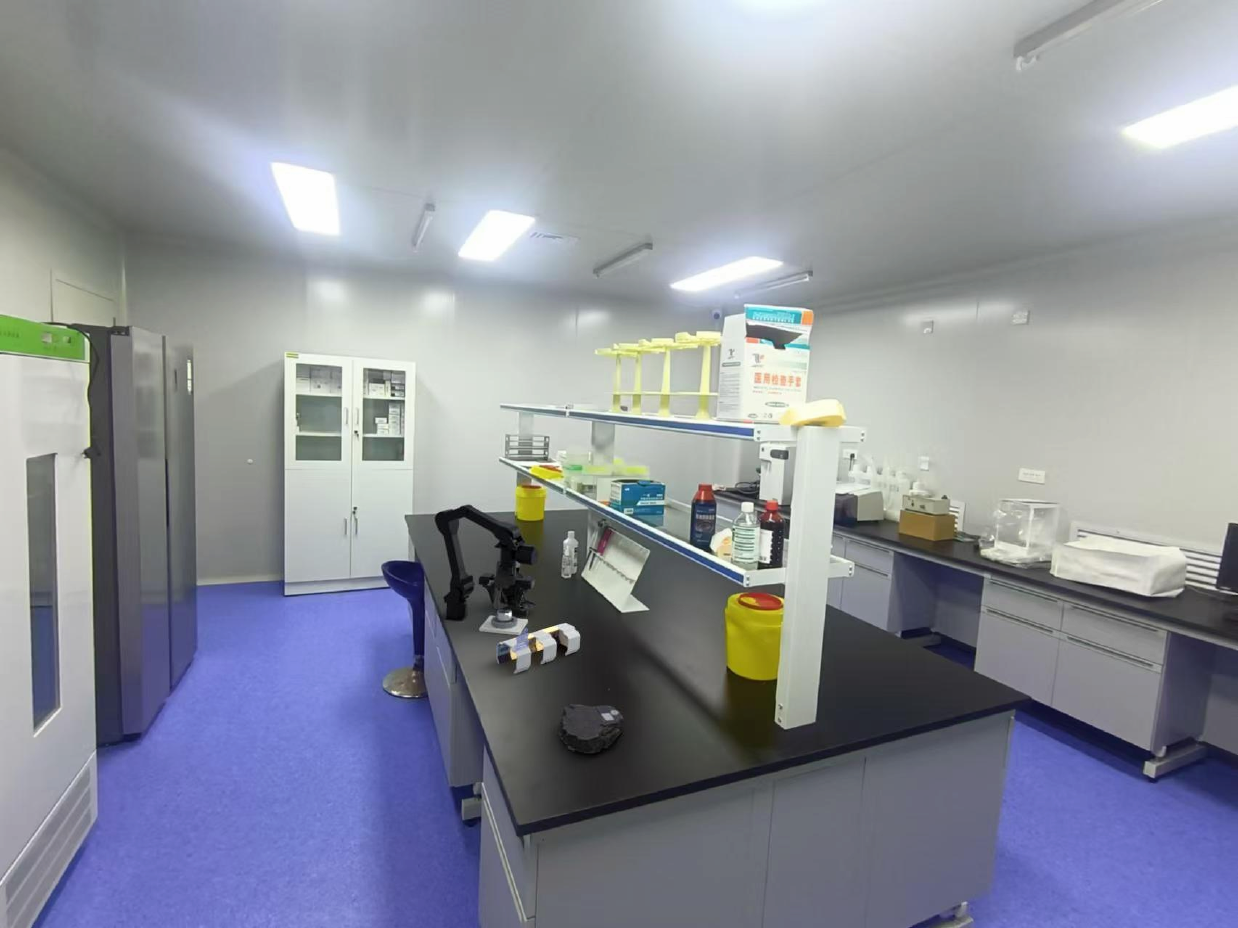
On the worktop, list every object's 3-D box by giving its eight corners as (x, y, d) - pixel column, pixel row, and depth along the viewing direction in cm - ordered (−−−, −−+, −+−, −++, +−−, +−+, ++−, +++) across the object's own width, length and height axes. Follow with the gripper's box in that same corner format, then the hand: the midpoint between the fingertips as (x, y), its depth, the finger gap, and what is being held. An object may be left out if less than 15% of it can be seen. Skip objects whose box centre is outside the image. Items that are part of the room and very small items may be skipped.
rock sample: (602, 765, 124) (604, 744, 124) (542, 744, 130) (543, 724, 130) (631, 726, 140) (633, 708, 140) (576, 709, 146) (577, 691, 146)
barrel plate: (479, 631, 191) (479, 624, 191) (489, 618, 203) (490, 611, 203) (519, 635, 190) (519, 628, 190) (527, 622, 202) (528, 615, 202)
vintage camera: (519, 620, 204) (524, 568, 202) (491, 608, 213) (496, 557, 211) (538, 614, 212) (543, 564, 210) (511, 602, 221) (515, 554, 219)
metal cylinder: (495, 625, 194) (495, 611, 194) (499, 620, 199) (499, 606, 199) (509, 627, 194) (509, 613, 193) (512, 621, 199) (513, 608, 198)
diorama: (516, 676, 162) (518, 632, 161) (495, 663, 169) (497, 621, 168) (579, 653, 180) (581, 614, 179) (558, 642, 187) (560, 604, 186)
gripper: (474, 565, 187) (472, 610, 189) (528, 570, 186) (526, 615, 187) (484, 556, 198) (482, 599, 200) (536, 561, 197) (533, 604, 198)
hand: (505, 604), depth 196 cm, fingers open, 9 cm apart
